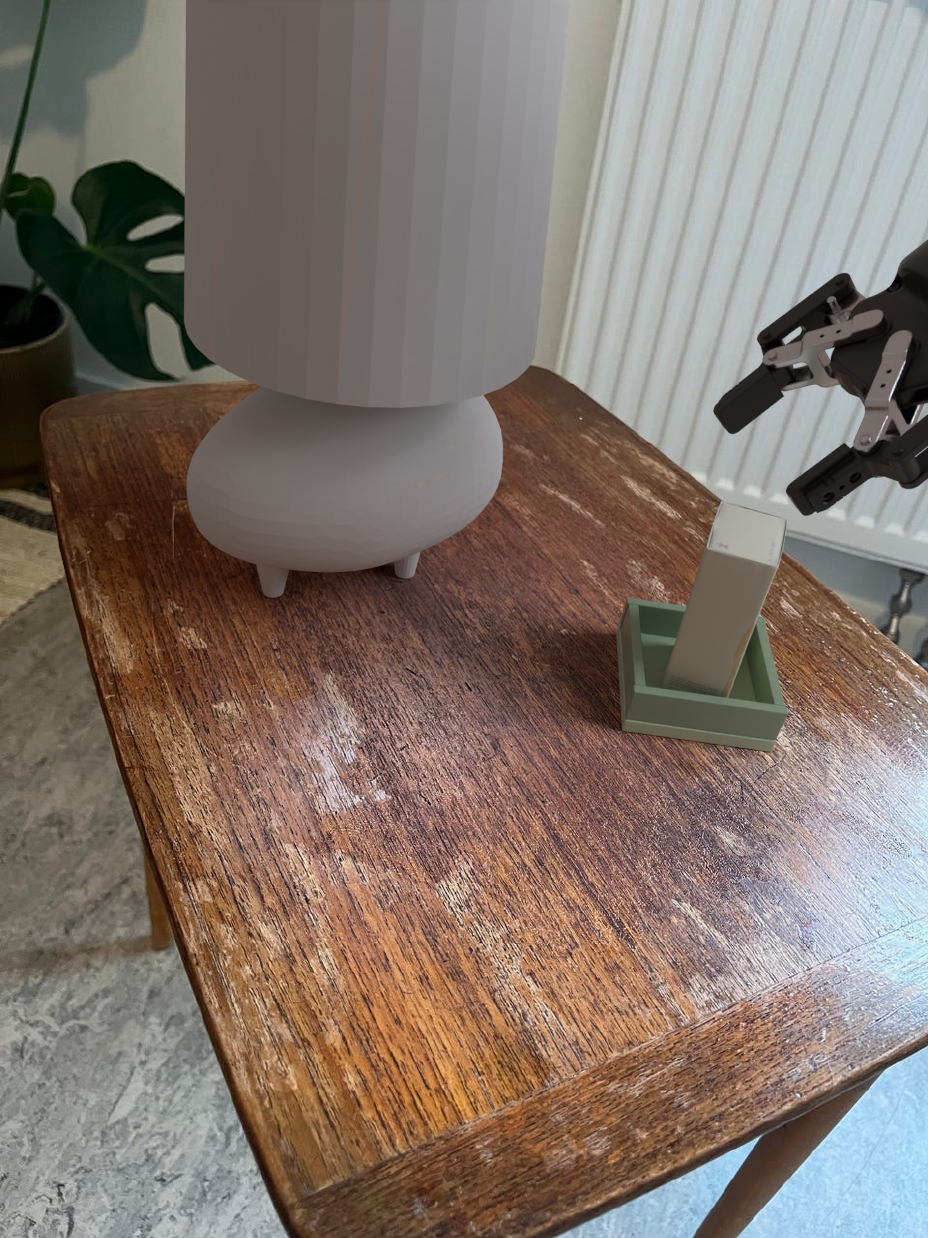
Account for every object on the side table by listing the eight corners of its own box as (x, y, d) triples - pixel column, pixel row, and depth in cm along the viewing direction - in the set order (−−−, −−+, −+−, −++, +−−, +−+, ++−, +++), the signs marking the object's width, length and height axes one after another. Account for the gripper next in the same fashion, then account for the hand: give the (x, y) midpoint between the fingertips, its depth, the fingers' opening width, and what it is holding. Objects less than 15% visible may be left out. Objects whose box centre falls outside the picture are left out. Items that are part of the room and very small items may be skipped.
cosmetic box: (720, 720, 63) (780, 572, 55) (653, 698, 63) (704, 548, 56) (734, 662, 67) (792, 517, 59) (672, 642, 68) (721, 497, 60)
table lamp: (260, 711, 60) (239, -75, 34) (144, 526, 73) (66, -142, 47) (553, 612, 71) (702, -40, 45) (406, 467, 84) (457, -102, 58)
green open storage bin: (771, 752, 62) (789, 714, 60) (621, 731, 62) (634, 692, 60) (749, 652, 70) (764, 615, 68) (615, 633, 70) (626, 596, 68)
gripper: (915, 159, 52) (671, 359, 56) (1112, 257, 42) (795, 493, 46) (953, 259, 57) (725, 437, 61) (1137, 369, 47) (848, 574, 51)
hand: (755, 461), depth 53 cm, fingers open, 8 cm apart
